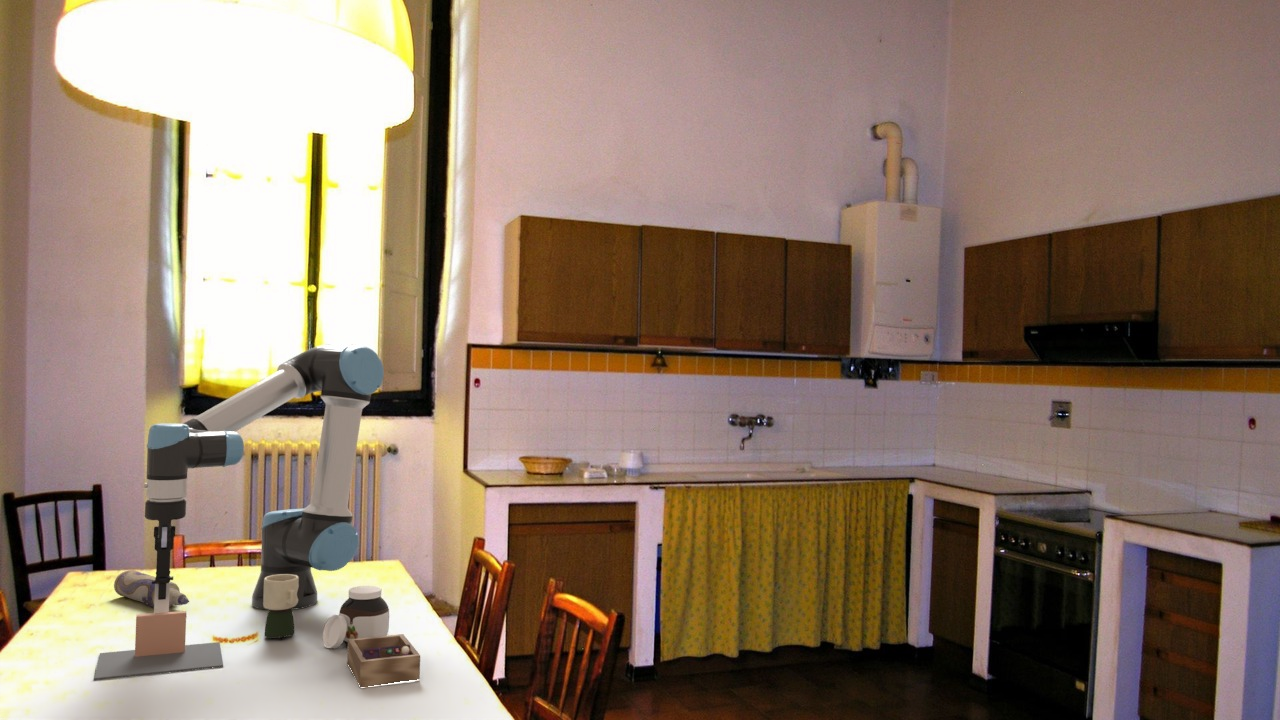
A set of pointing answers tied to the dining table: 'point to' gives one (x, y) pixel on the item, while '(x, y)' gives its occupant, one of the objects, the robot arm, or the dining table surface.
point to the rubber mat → (158, 662)
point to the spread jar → (358, 617)
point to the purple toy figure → (375, 652)
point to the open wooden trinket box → (382, 661)
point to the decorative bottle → (145, 588)
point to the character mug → (280, 604)
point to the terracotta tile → (160, 633)
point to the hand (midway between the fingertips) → (161, 613)
